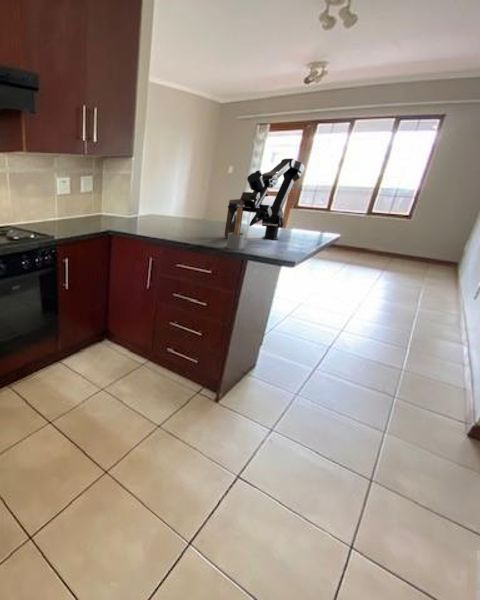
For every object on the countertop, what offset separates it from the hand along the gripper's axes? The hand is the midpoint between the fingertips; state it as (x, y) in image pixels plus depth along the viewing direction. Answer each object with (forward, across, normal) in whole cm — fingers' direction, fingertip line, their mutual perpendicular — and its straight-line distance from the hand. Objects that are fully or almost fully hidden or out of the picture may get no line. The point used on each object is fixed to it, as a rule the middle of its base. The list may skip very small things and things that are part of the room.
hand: (240, 224), depth 152 cm
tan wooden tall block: (-5, -14, +21) cm, 25 cm away
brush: (+9, 0, +6) cm, 11 cm away
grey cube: (+9, 0, +6) cm, 11 cm away
